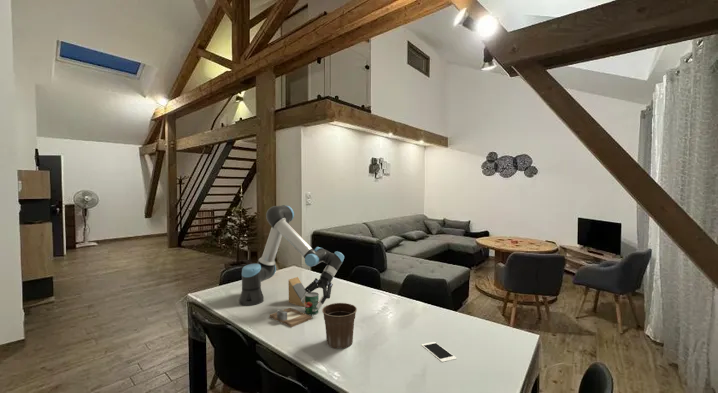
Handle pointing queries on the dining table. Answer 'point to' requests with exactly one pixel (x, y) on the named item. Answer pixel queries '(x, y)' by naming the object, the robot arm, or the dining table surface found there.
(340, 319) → the plant pot
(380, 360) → the dining table surface
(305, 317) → the walnut board
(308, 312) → the canned tomato
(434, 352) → the cell phone
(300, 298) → the sandwich container
